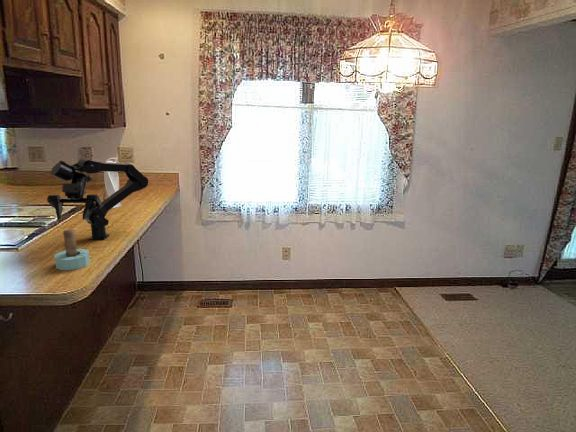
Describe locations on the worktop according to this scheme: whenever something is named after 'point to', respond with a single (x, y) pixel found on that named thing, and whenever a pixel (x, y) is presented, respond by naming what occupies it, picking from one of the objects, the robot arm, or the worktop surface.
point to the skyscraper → (111, 183)
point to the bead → (72, 260)
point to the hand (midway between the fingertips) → (70, 219)
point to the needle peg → (70, 243)
